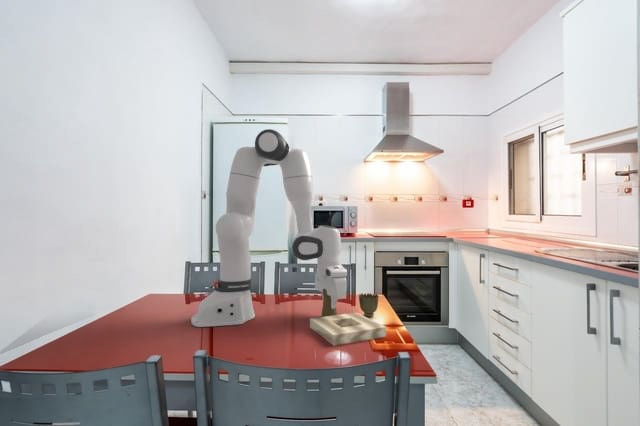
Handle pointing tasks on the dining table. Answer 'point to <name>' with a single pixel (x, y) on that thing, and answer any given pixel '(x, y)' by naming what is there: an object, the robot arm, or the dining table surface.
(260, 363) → the dining table surface
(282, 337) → the dining table surface
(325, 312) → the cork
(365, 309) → the cup
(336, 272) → the robot arm
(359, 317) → the socket board
